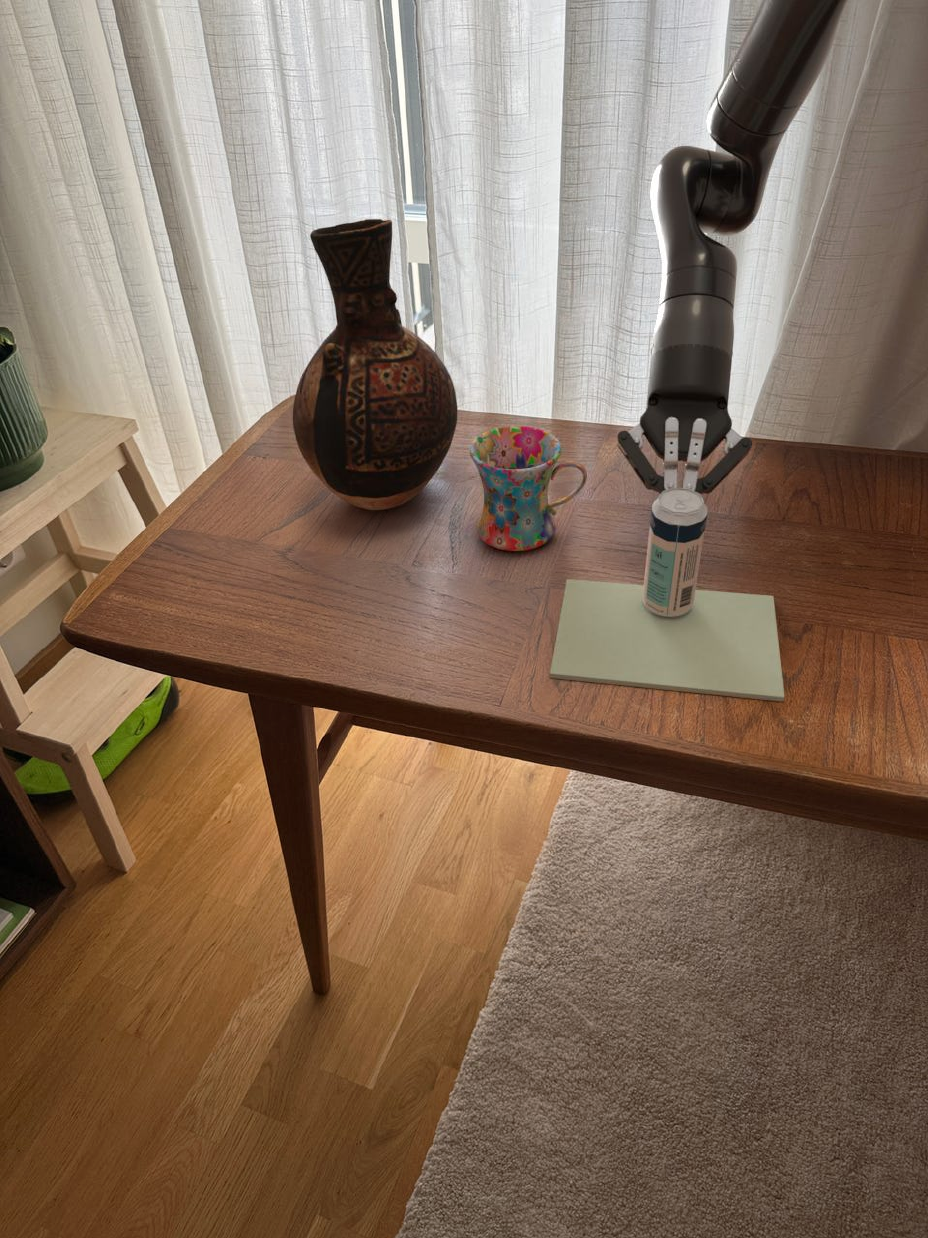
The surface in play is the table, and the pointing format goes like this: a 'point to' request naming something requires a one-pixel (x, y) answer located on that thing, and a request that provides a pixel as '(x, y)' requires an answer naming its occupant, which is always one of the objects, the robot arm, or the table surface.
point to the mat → (669, 642)
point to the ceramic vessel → (371, 381)
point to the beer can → (674, 551)
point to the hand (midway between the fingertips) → (674, 534)
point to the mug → (518, 486)
